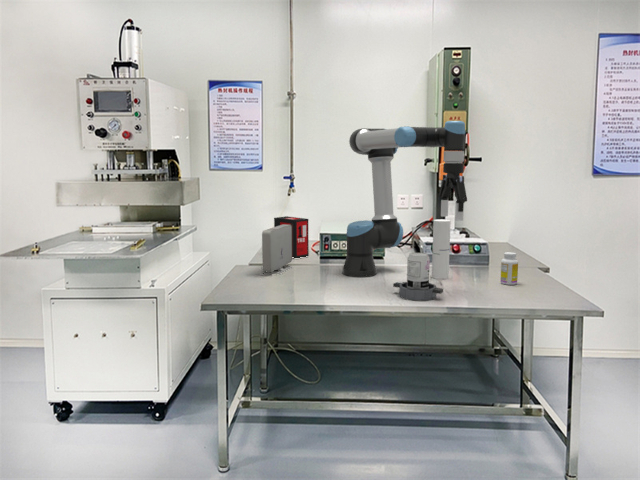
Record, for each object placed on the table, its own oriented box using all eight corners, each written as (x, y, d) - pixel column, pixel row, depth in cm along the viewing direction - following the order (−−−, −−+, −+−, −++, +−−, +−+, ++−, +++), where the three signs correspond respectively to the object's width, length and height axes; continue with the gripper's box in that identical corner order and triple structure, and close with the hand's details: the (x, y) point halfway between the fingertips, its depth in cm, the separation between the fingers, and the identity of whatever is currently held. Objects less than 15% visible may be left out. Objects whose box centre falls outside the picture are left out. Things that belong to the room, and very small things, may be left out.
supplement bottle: (517, 282, 231) (518, 252, 229) (517, 285, 225) (518, 255, 223) (500, 281, 233) (501, 251, 231) (499, 284, 227) (501, 254, 225)
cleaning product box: (274, 255, 293) (274, 217, 290) (286, 253, 299) (286, 216, 296) (296, 259, 281) (295, 220, 278) (308, 256, 288) (308, 218, 285)
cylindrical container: (448, 279, 236) (450, 221, 233) (431, 278, 238) (433, 221, 234) (448, 275, 243) (450, 219, 239) (431, 275, 245) (433, 219, 241)
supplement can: (404, 290, 213) (405, 252, 211) (425, 290, 214) (426, 252, 211) (409, 296, 205) (410, 256, 203) (431, 295, 206) (432, 256, 203)
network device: (275, 276, 242) (274, 231, 238) (257, 275, 244) (256, 230, 241) (296, 265, 266) (296, 224, 262) (279, 264, 268) (279, 223, 265)
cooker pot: (386, 296, 209) (387, 285, 208) (402, 288, 220) (402, 279, 219) (434, 303, 198) (434, 293, 198) (448, 295, 210) (448, 285, 209)
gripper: (478, 163, 198) (475, 222, 201) (449, 162, 222) (447, 214, 225) (458, 163, 196) (456, 222, 200) (431, 162, 220) (429, 214, 224)
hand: (451, 218), depth 212 cm, fingers open, 13 cm apart
